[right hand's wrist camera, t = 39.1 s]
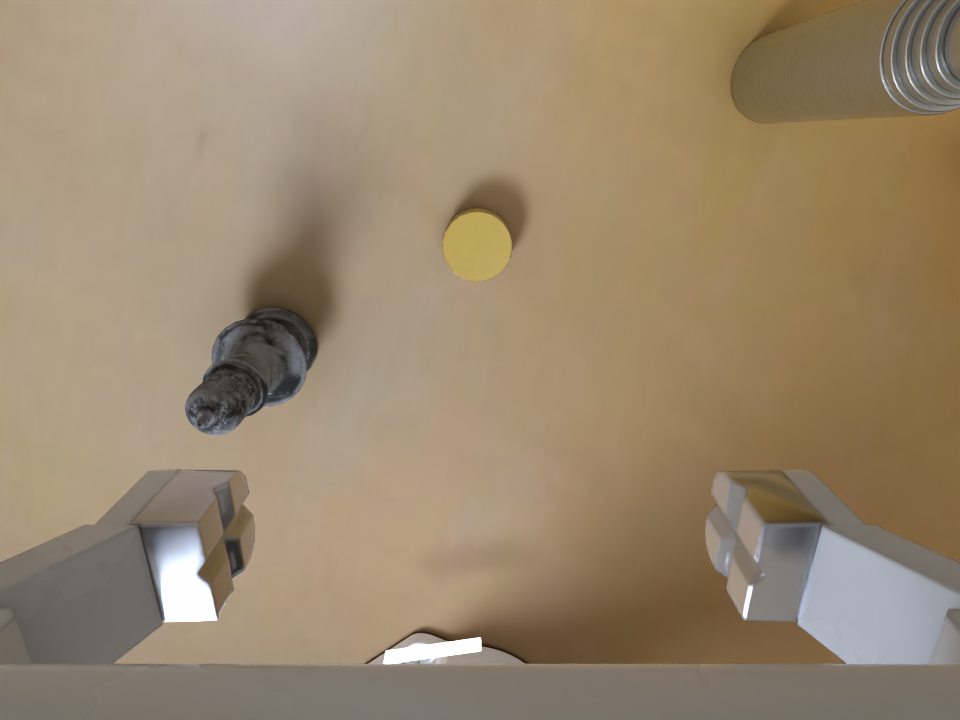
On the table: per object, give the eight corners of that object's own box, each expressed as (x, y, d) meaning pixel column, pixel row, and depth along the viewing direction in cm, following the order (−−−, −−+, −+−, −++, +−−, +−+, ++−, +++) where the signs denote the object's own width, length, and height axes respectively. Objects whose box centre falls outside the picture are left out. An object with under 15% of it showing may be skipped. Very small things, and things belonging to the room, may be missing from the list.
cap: (497, 196, 37) (498, 199, 35) (520, 261, 38) (523, 267, 36) (433, 222, 37) (430, 226, 35) (458, 285, 39) (458, 292, 37)
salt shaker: (233, 297, 39) (132, 363, 27) (322, 309, 39) (259, 379, 28) (234, 379, 41) (141, 471, 30) (319, 389, 41) (258, 484, 30)
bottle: (786, 135, 35) (1070, 134, 18) (716, 105, 35) (942, 74, 18) (830, 51, 34) (1185, -35, 17) (757, 18, 33) (1049, -107, 16)
